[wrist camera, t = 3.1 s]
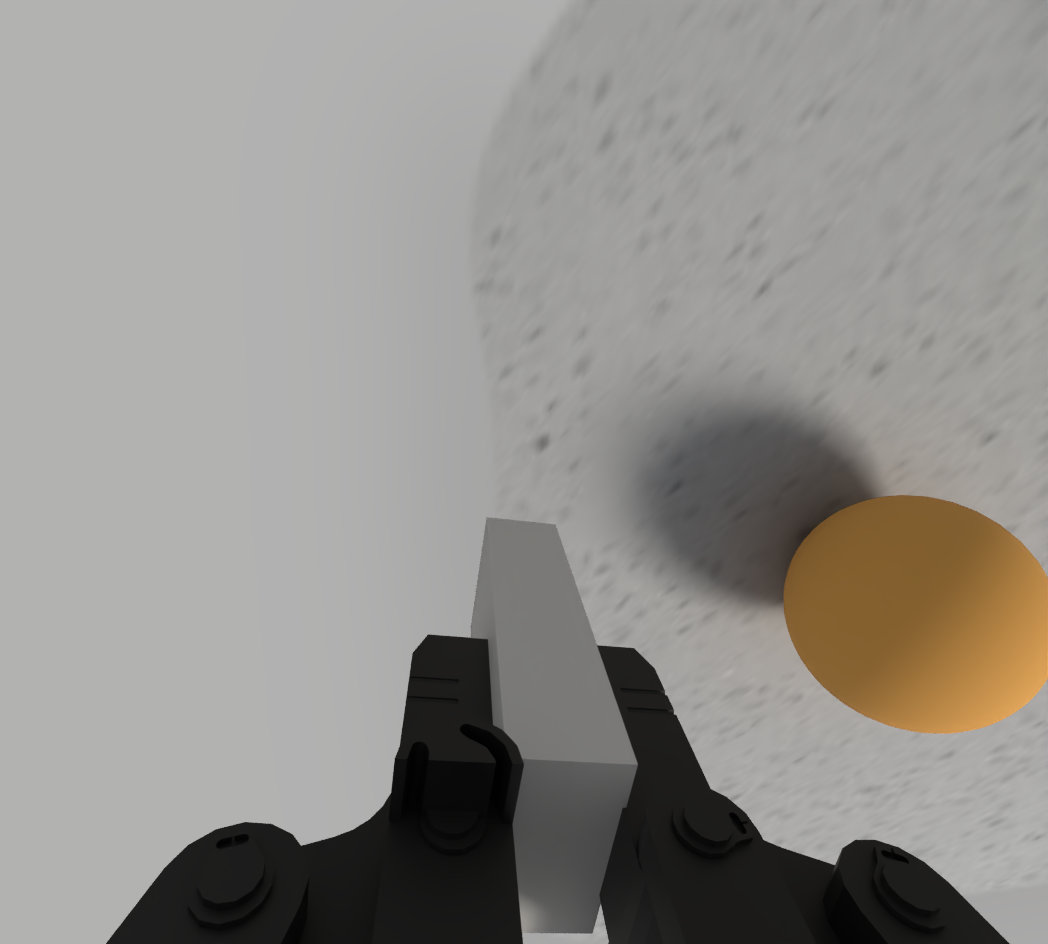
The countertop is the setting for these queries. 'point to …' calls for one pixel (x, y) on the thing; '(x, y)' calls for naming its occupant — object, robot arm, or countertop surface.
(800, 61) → the countertop surface
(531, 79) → the countertop surface
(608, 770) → the robot arm
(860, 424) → the countertop surface
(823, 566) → the ball
